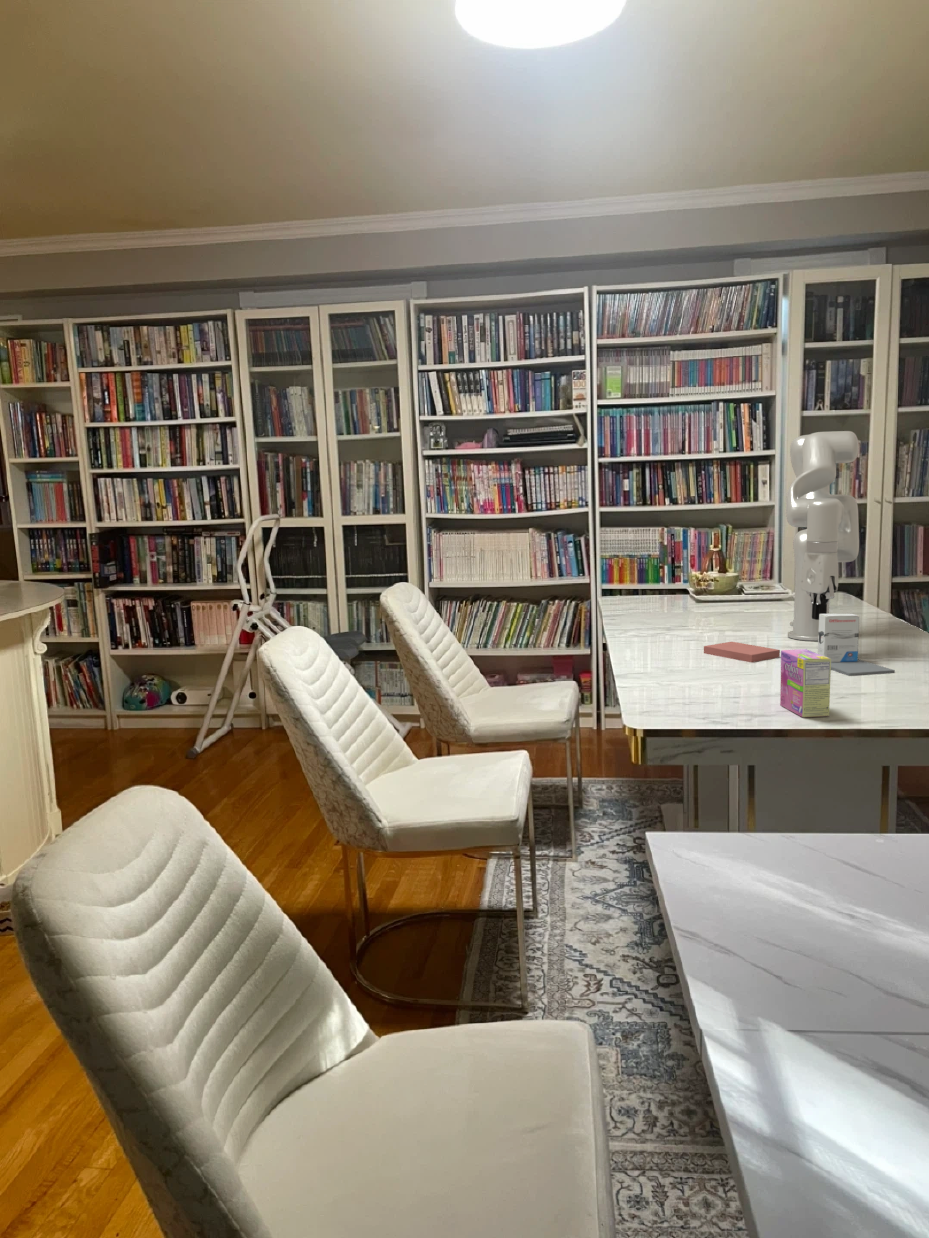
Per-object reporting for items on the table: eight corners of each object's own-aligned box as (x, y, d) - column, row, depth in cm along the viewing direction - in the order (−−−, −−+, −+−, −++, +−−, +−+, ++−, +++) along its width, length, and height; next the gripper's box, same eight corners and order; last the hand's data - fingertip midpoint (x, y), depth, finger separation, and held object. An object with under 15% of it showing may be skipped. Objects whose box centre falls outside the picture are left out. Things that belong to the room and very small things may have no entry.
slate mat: (806, 661, 230) (806, 658, 230) (848, 658, 232) (848, 656, 232) (849, 675, 213) (849, 673, 213) (894, 672, 215) (894, 670, 215)
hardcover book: (703, 655, 244) (703, 646, 243) (731, 650, 249) (731, 641, 249) (751, 664, 230) (751, 654, 230) (779, 659, 236) (779, 649, 236)
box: (778, 705, 187) (780, 649, 185) (805, 704, 187) (807, 648, 186) (801, 718, 177) (803, 659, 175) (829, 717, 177) (832, 658, 175)
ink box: (850, 658, 230) (852, 612, 228) (858, 662, 225) (860, 615, 223) (816, 658, 230) (818, 613, 228) (823, 662, 225) (825, 616, 223)
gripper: (792, 547, 238) (790, 615, 241) (825, 551, 223) (822, 624, 226) (818, 546, 239) (815, 614, 242) (852, 550, 225) (849, 622, 228)
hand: (819, 618), depth 234 cm, fingers closed
